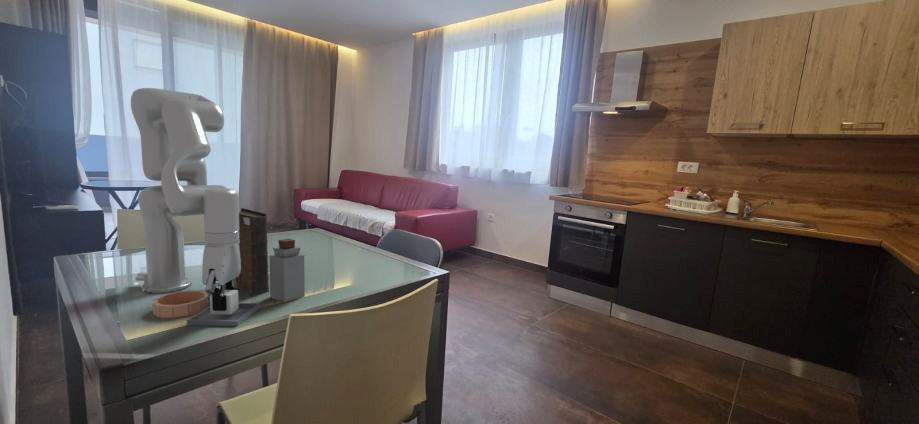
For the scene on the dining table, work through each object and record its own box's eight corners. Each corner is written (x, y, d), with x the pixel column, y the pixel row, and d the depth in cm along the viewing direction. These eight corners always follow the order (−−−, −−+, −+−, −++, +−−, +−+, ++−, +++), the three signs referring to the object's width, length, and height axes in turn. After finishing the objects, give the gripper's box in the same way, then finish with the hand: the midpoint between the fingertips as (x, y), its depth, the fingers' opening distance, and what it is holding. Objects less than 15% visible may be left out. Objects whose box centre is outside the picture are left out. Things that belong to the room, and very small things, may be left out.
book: (271, 294, 121) (269, 213, 118) (247, 299, 116) (244, 215, 112) (248, 281, 132) (245, 207, 128) (224, 286, 126) (221, 209, 123)
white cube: (210, 313, 100) (209, 294, 99) (219, 307, 104) (218, 289, 103) (230, 314, 100) (229, 295, 100) (238, 308, 104) (238, 290, 104)
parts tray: (187, 328, 96) (186, 320, 96) (215, 309, 108) (215, 302, 108) (237, 329, 97) (237, 321, 96) (260, 310, 108) (260, 303, 108)
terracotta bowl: (142, 320, 99) (141, 305, 99) (174, 302, 111) (173, 289, 111) (191, 321, 100) (190, 306, 99) (218, 303, 112) (217, 290, 111)
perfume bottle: (284, 305, 113) (283, 243, 111) (270, 299, 117) (269, 240, 114) (304, 298, 119) (304, 240, 116) (290, 293, 122) (289, 236, 120)
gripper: (225, 230, 108) (227, 295, 110) (185, 244, 91) (189, 319, 94) (253, 231, 108) (254, 296, 111) (219, 245, 91) (221, 320, 94)
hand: (224, 306), depth 102 cm, fingers closed on white cube, 3 cm apart
